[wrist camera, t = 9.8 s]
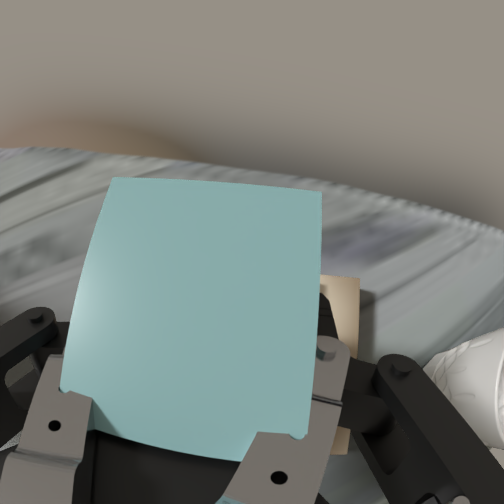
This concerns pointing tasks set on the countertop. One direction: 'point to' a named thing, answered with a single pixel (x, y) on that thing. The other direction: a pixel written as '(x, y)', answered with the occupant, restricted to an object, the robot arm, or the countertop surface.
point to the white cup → (475, 384)
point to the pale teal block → (198, 314)
